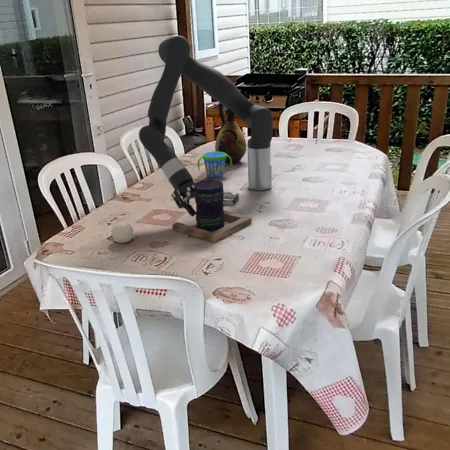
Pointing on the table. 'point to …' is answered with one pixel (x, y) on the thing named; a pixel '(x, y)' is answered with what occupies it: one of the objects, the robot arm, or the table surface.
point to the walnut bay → (214, 236)
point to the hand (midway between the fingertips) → (203, 211)
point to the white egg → (122, 232)
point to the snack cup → (214, 163)
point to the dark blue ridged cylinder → (209, 205)
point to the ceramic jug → (230, 138)
